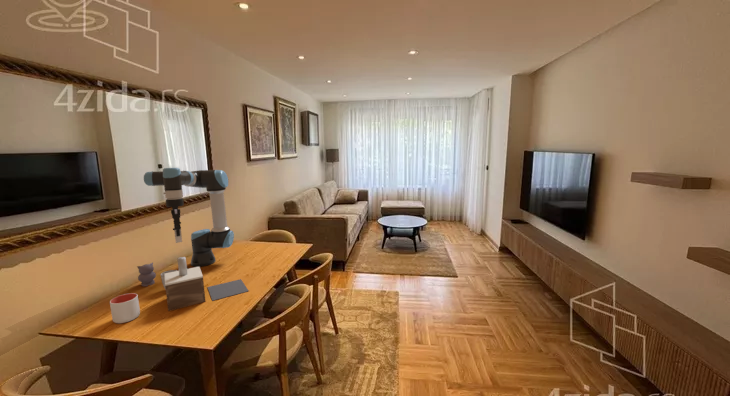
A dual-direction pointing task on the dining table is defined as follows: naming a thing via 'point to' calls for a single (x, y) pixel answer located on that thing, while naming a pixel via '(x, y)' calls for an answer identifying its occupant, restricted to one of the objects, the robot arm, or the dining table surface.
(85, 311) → the dining table surface
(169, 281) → the lid
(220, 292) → the mat
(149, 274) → the cat figurine
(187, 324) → the dining table surface
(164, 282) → the cup
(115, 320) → the cup
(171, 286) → the box
